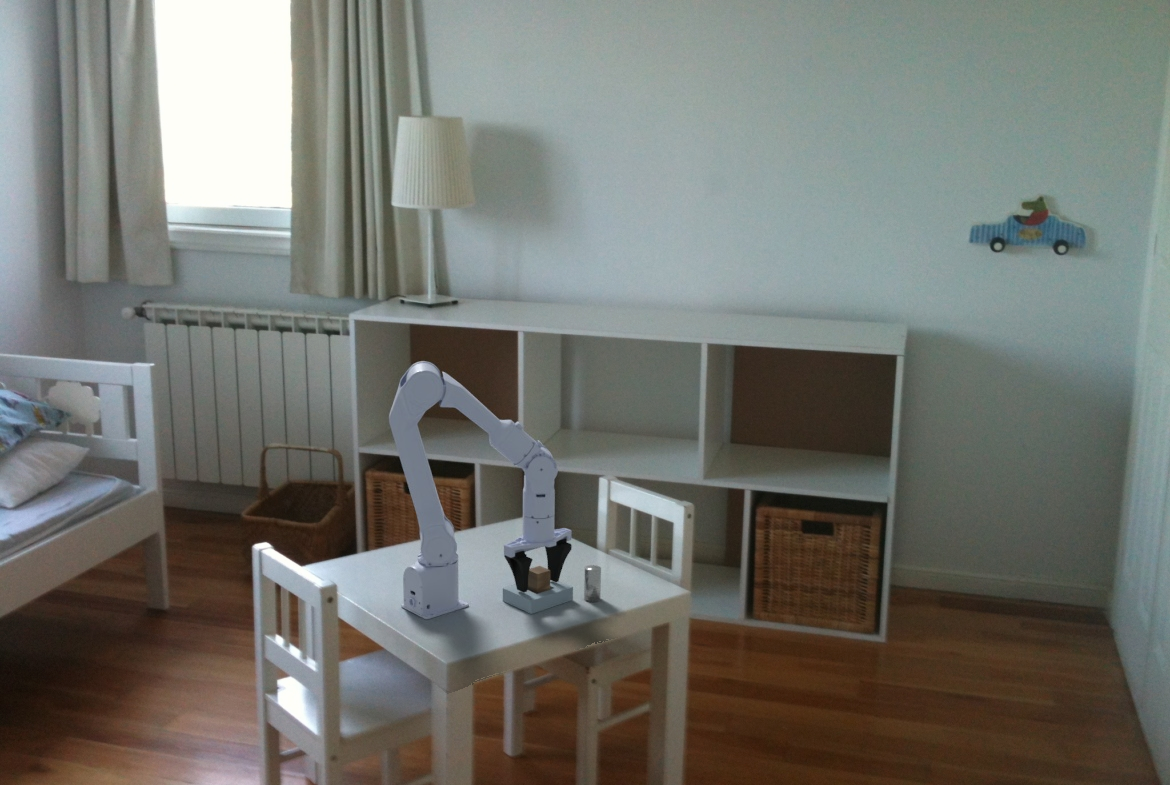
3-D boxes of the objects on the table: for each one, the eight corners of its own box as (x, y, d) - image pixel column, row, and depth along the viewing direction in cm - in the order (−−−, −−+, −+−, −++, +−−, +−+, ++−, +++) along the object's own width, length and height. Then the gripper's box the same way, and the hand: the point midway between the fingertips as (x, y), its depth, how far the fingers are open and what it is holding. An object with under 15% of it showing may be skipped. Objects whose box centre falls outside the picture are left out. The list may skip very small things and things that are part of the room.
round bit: (592, 603, 206) (592, 572, 205) (580, 598, 208) (581, 568, 207) (603, 599, 208) (604, 568, 207) (592, 594, 210) (592, 564, 209)
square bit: (537, 605, 205) (537, 574, 204) (526, 600, 207) (527, 569, 206) (550, 601, 207) (550, 570, 206) (539, 596, 209) (539, 565, 208)
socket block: (531, 614, 201) (531, 600, 201) (502, 600, 207) (502, 588, 206) (572, 599, 208) (573, 587, 207) (544, 587, 213) (544, 575, 213)
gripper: (522, 527, 196) (521, 601, 199) (583, 511, 206) (582, 581, 209) (496, 518, 201) (496, 590, 204) (557, 502, 211) (556, 571, 214)
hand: (538, 585), depth 207 cm, fingers open, 7 cm apart
